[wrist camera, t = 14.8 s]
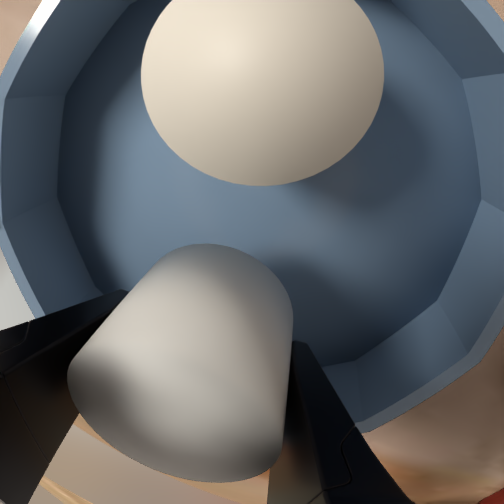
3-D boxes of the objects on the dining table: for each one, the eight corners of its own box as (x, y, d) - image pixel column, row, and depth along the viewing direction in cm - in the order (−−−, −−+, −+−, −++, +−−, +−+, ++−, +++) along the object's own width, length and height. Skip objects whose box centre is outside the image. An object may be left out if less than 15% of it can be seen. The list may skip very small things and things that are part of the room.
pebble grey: (314, 269, 9) (318, 393, 5) (270, 386, 11) (251, 496, 7) (148, 224, 9) (50, 307, 5) (141, 347, 11) (84, 440, 7)
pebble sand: (362, 38, 8) (398, -10, 4) (333, 174, 10) (353, 211, 6) (217, 12, 8) (167, -40, 4) (191, 145, 10) (127, 164, 6)
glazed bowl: (522, 51, 7) (584, 43, 4) (381, 402, 15) (391, 464, 11) (97, -44, 8) (42, -73, 4) (59, 309, 15) (17, 352, 12)
